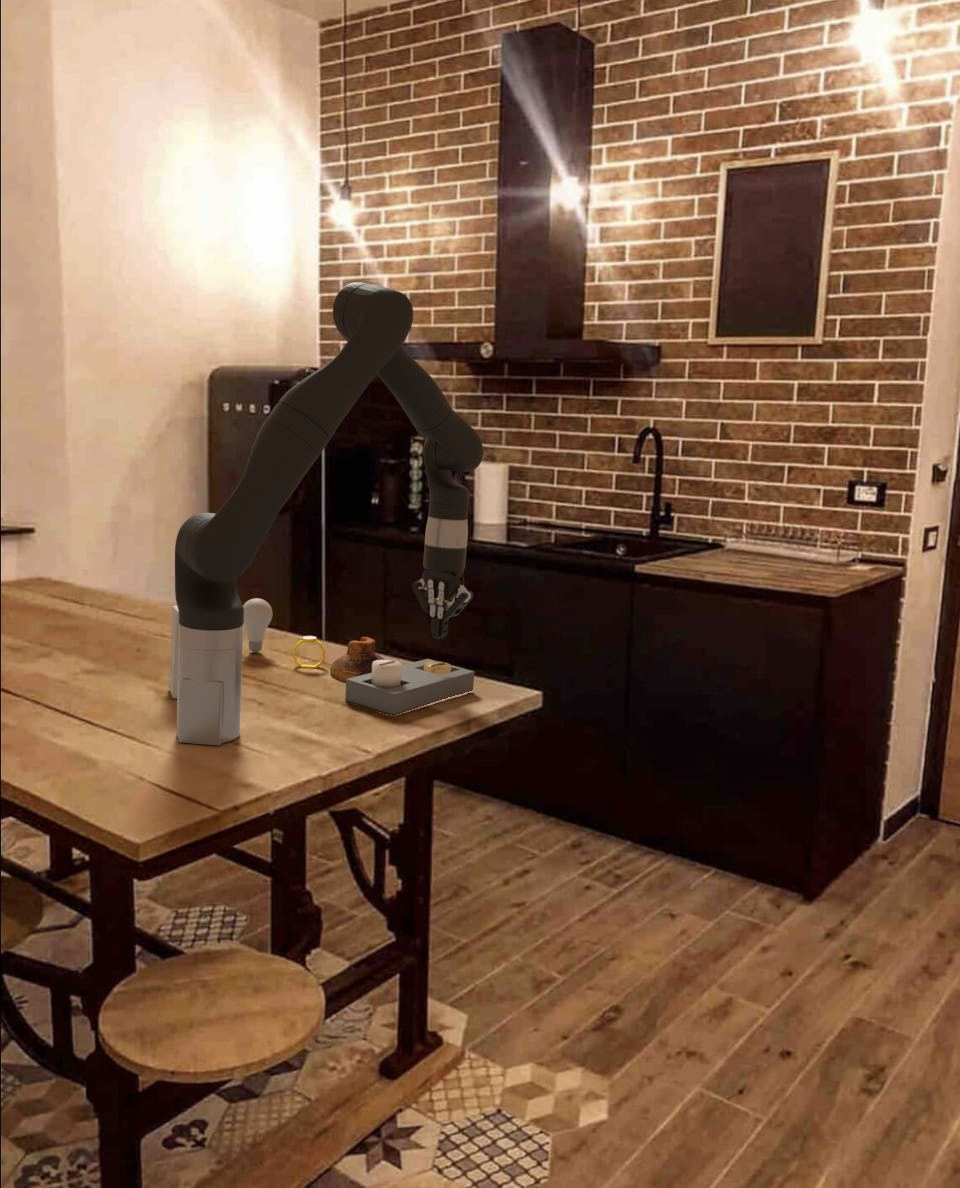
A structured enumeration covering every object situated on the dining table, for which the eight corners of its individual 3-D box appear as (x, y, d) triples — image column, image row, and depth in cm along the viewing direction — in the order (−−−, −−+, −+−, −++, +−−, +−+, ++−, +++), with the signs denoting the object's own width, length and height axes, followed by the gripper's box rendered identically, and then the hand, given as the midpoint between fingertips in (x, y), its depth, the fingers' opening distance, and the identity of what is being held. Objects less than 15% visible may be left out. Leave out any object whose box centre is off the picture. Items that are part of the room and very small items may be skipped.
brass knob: (438, 691, 181) (439, 669, 180) (416, 685, 184) (418, 663, 183) (455, 686, 185) (456, 664, 184) (434, 680, 188) (435, 659, 187)
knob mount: (393, 717, 167) (394, 693, 166) (345, 701, 173) (346, 679, 173) (472, 692, 185) (474, 671, 184) (426, 679, 191) (428, 658, 190)
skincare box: (172, 699, 167) (174, 612, 164) (168, 689, 173) (169, 604, 170) (223, 697, 171) (226, 611, 168) (218, 687, 176) (220, 603, 173)
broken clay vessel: (354, 688, 182) (356, 649, 181) (317, 672, 191) (319, 634, 189) (405, 680, 190) (407, 642, 189) (368, 664, 199) (370, 628, 197)
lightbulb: (267, 657, 197) (269, 602, 195) (236, 655, 197) (237, 600, 195) (273, 650, 203) (276, 596, 201) (243, 647, 203) (245, 594, 201)
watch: (293, 669, 191) (292, 639, 190) (294, 666, 194) (293, 635, 193) (325, 669, 192) (324, 638, 191) (325, 665, 195) (324, 635, 194)
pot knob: (386, 692, 169) (388, 668, 169) (365, 685, 172) (366, 661, 171) (406, 686, 173) (407, 663, 173) (384, 680, 176) (386, 657, 175)
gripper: (488, 547, 179) (480, 642, 182) (430, 536, 186) (423, 627, 189) (462, 550, 173) (454, 648, 176) (404, 538, 180) (397, 633, 183)
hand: (438, 637), depth 183 cm, fingers closed
